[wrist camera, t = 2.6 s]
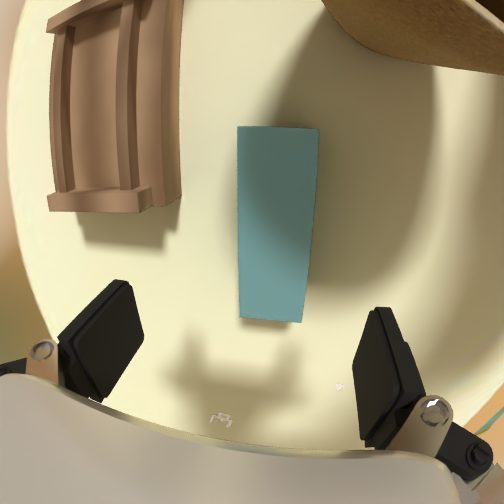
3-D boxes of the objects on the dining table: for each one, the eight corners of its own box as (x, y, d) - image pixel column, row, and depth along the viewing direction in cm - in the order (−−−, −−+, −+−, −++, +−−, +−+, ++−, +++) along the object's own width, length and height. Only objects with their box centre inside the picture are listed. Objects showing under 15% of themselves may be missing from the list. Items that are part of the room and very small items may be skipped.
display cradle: (184, -8, 14) (156, -31, 10) (181, 195, 22) (152, 215, 17) (76, 29, 16) (41, 23, 11) (77, 196, 24) (43, 212, 19)
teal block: (314, 129, 18) (318, 129, 14) (302, 285, 24) (301, 322, 19) (252, 126, 19) (237, 126, 14) (251, 281, 25) (239, 316, 20)
